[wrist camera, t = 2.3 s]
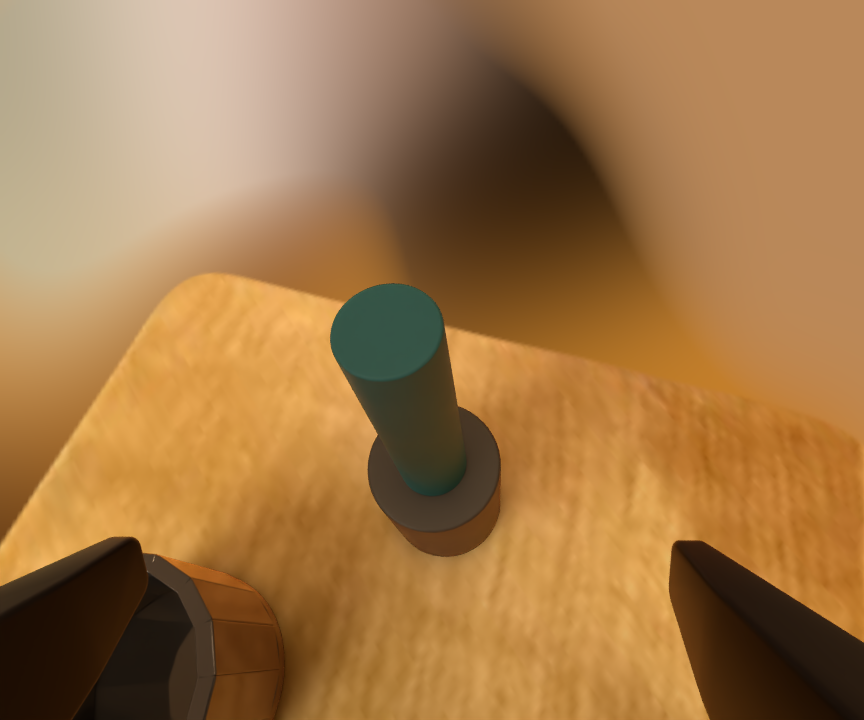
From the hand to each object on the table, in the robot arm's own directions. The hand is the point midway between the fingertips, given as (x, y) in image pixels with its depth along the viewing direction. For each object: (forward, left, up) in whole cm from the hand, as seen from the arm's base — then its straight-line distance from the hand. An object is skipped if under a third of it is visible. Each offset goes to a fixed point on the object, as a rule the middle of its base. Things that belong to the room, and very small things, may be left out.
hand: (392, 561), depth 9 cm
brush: (+3, -1, -10) cm, 11 cm away
